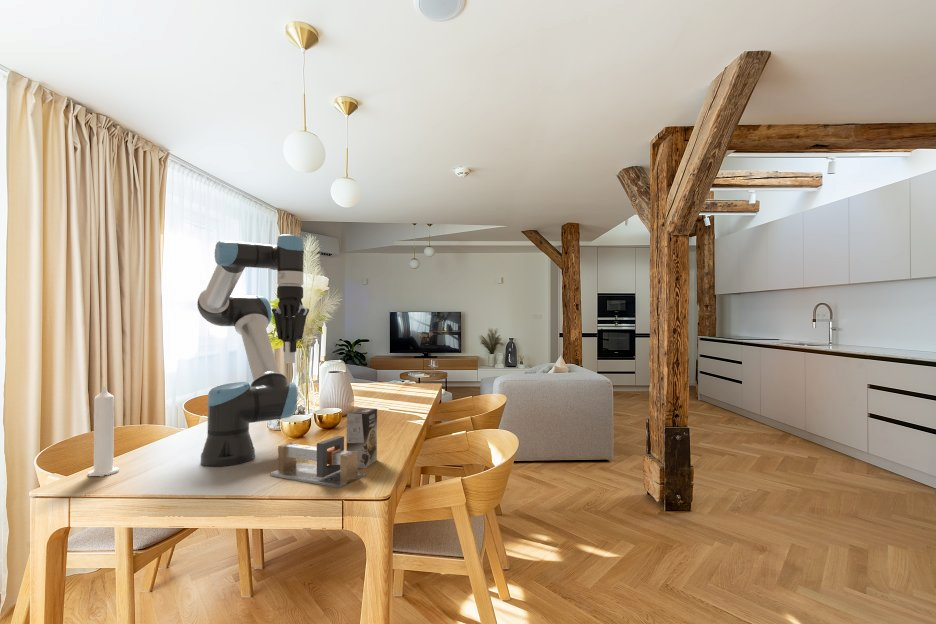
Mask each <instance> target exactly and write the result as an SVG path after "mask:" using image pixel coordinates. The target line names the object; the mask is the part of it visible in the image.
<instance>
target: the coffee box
mask: <svg viewBox="0 0 936 624" xmlns="http://www.w3.org/2000/svg"><path fill="white" fill-rule="evenodd" d="M345 449H346V450H345V451H358V469H367V468H368V467H369V466H370V465H372V464H373V463H375V462H376V461H378V460H377V459H378V408H372V407H367V408H357V409H354V410H352V411H349V412H346V448H345Z"/></svg>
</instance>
